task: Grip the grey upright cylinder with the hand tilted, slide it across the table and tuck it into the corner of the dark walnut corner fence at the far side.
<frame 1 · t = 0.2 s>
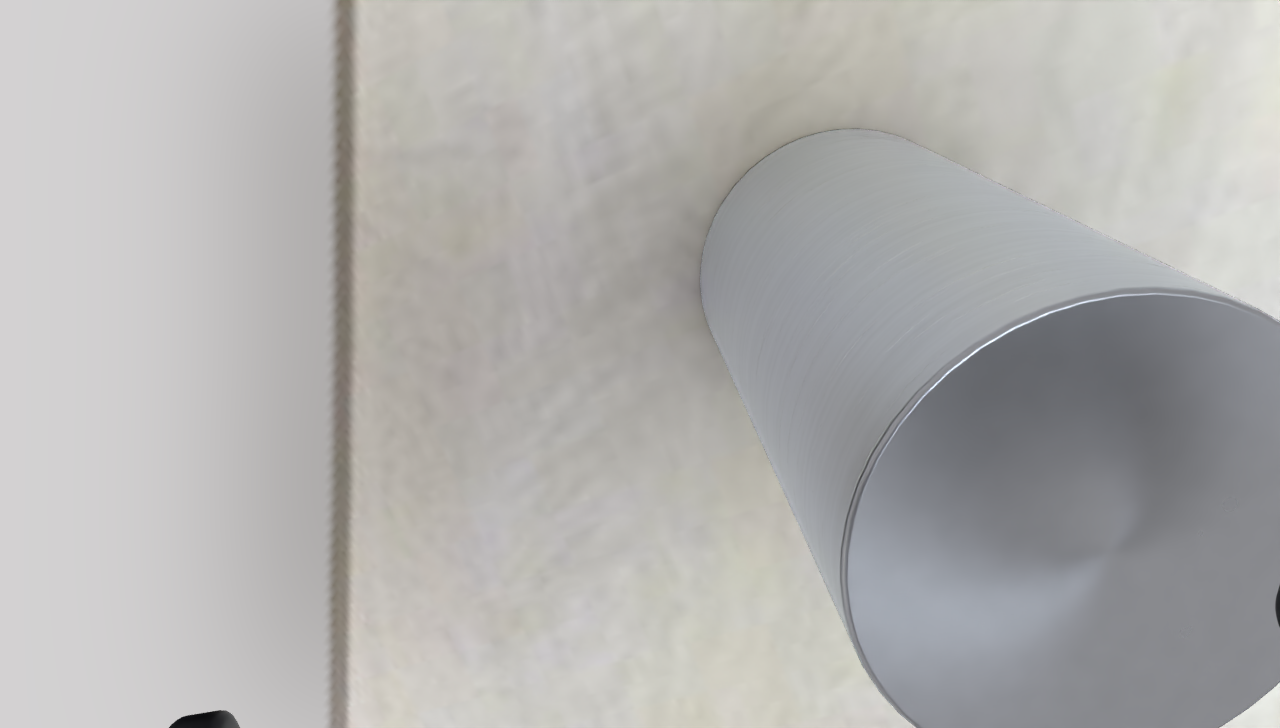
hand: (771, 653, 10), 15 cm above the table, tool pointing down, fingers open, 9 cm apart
grey upright cylinder: (841, 273, 24), on the table
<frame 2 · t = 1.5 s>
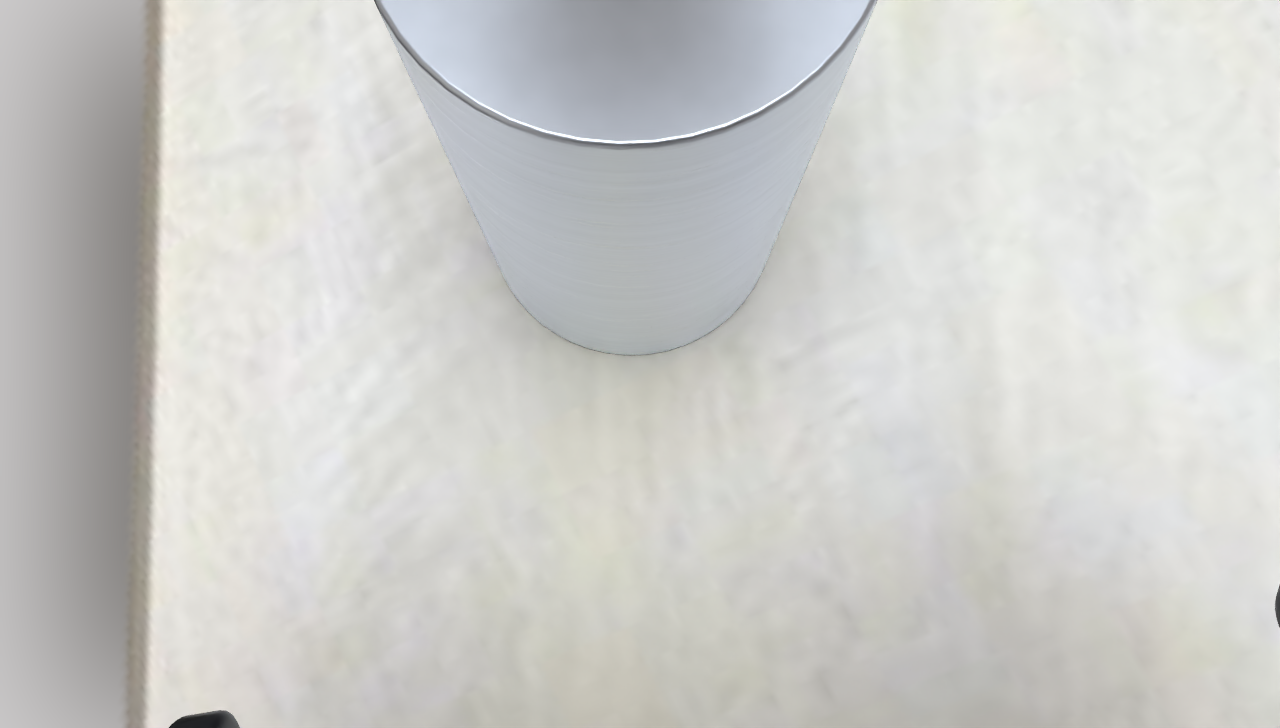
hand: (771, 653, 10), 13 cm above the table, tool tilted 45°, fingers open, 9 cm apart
grey upright cylinder: (631, 216, 24), on the table
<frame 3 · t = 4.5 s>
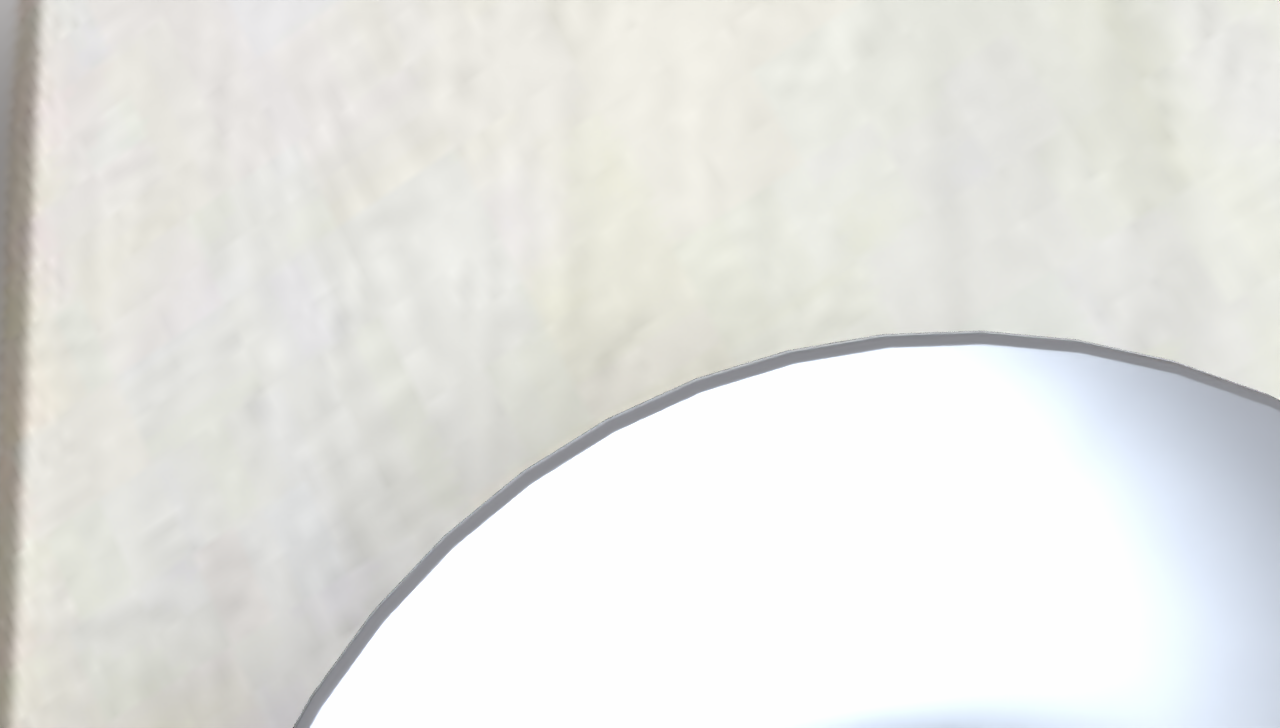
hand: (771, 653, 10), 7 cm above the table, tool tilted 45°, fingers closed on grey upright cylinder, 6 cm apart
grey upright cylinder: (733, 722, 16), on the table, touching gripper
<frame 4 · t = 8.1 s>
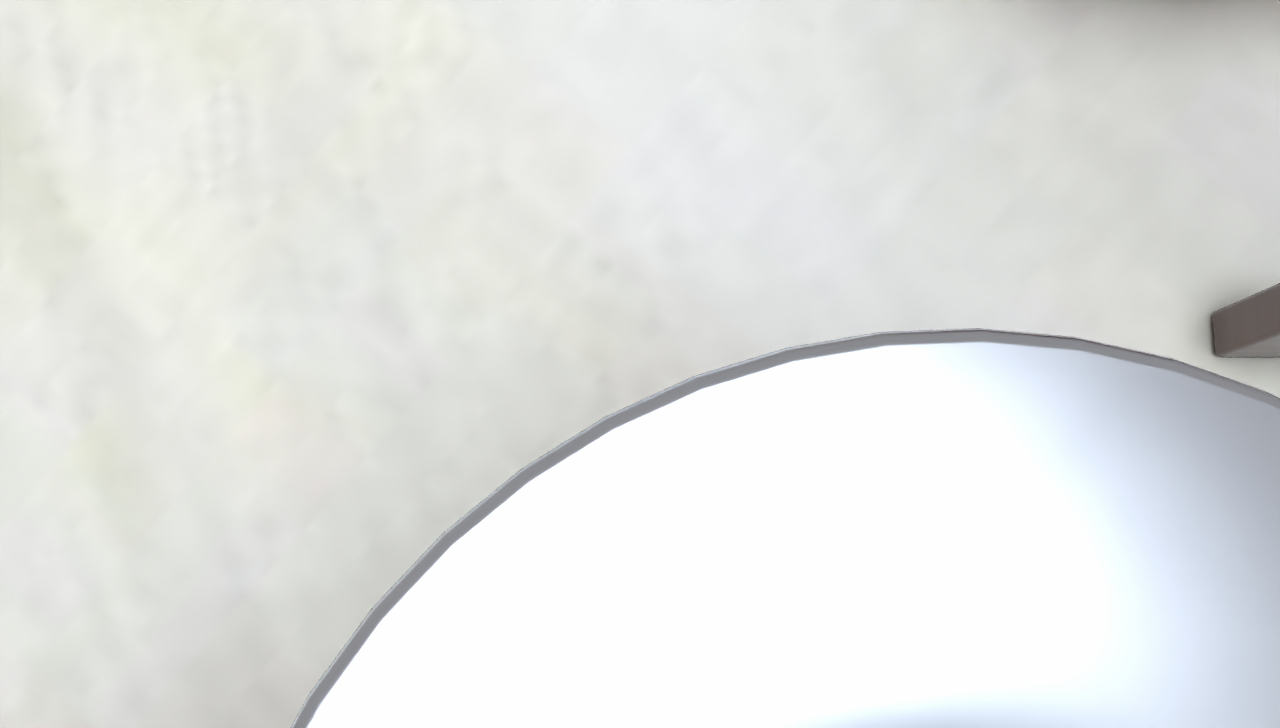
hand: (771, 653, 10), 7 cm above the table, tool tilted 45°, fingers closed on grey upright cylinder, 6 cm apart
grey upright cylinder: (733, 721, 16), on the table, touching gripper
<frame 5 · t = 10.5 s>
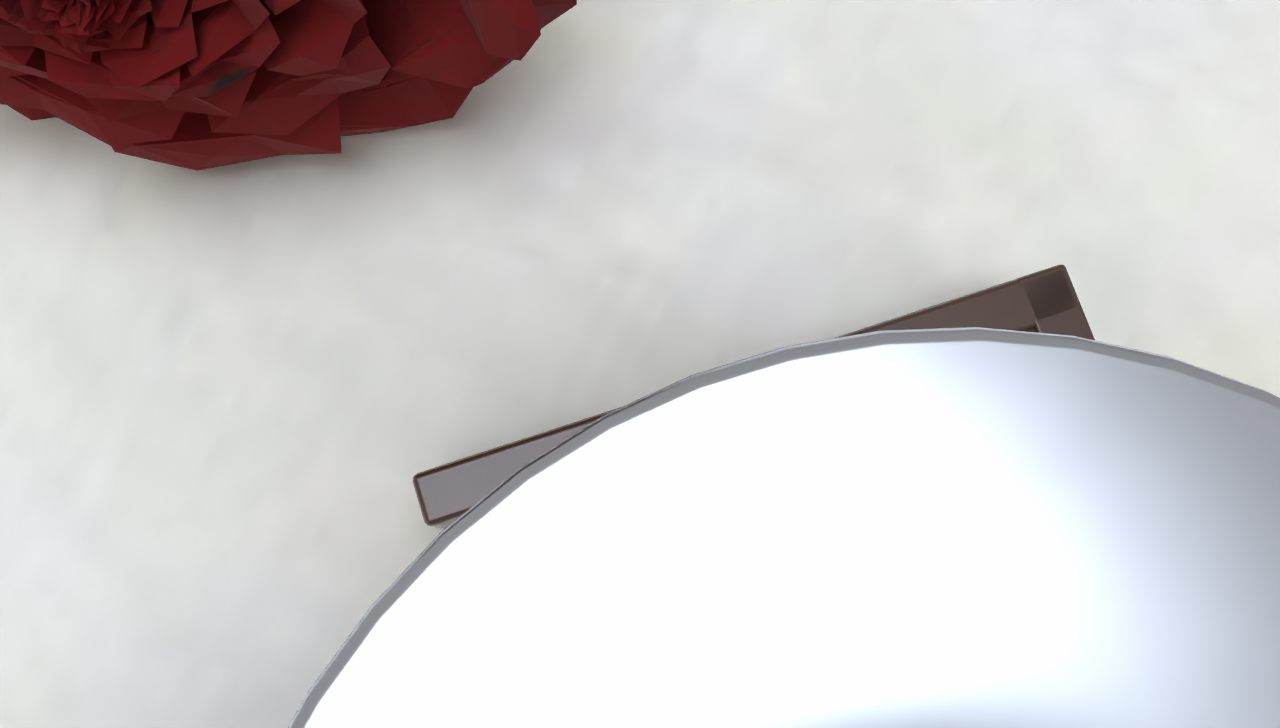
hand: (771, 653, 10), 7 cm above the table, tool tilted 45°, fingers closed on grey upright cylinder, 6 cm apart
corner fence: (764, 487, 17), on the table
grey upright cylinder: (732, 721, 16), on the table, touching gripper
when the fingers open (7 cm above the table, at t = 11.6 s): grey upright cylinder stays where it is, on the table.
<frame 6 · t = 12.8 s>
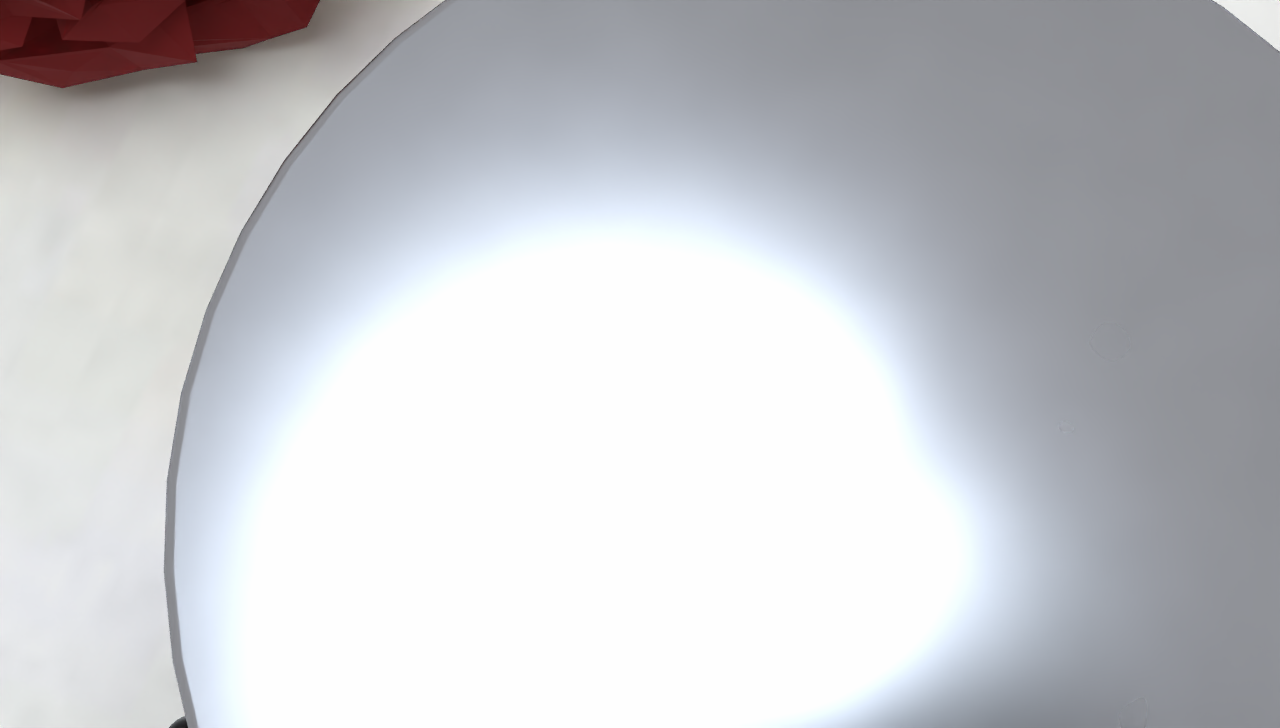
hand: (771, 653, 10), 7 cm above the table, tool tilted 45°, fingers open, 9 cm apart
grey upright cylinder: (699, 544, 17), on the table
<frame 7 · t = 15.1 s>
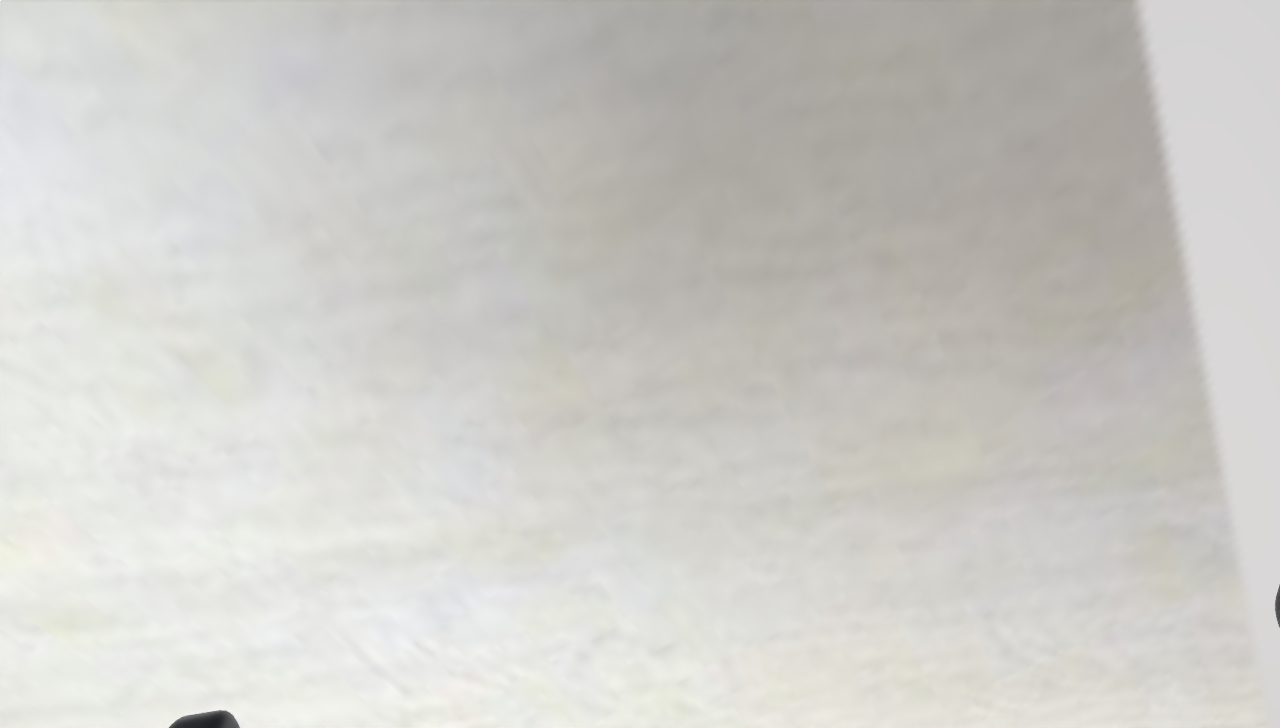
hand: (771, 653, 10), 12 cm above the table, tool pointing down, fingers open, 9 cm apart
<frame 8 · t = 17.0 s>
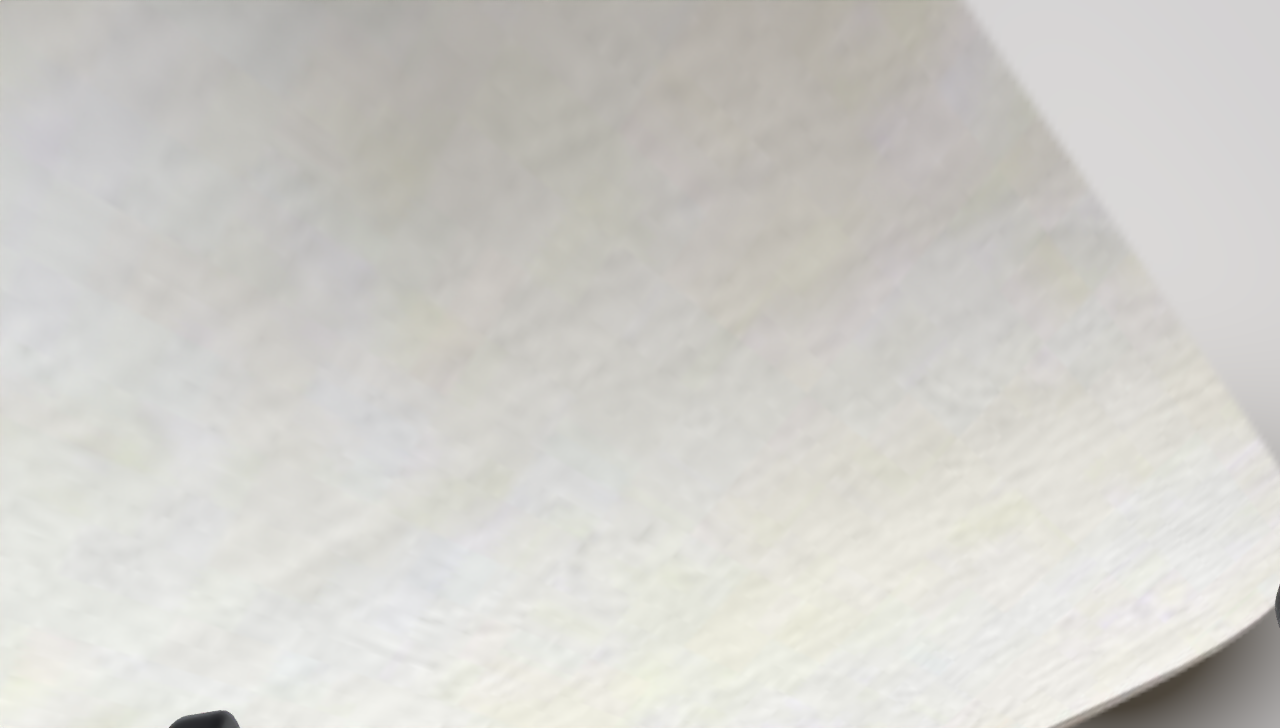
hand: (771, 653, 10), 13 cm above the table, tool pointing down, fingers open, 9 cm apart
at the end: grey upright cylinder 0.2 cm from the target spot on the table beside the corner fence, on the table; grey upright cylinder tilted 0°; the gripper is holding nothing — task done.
